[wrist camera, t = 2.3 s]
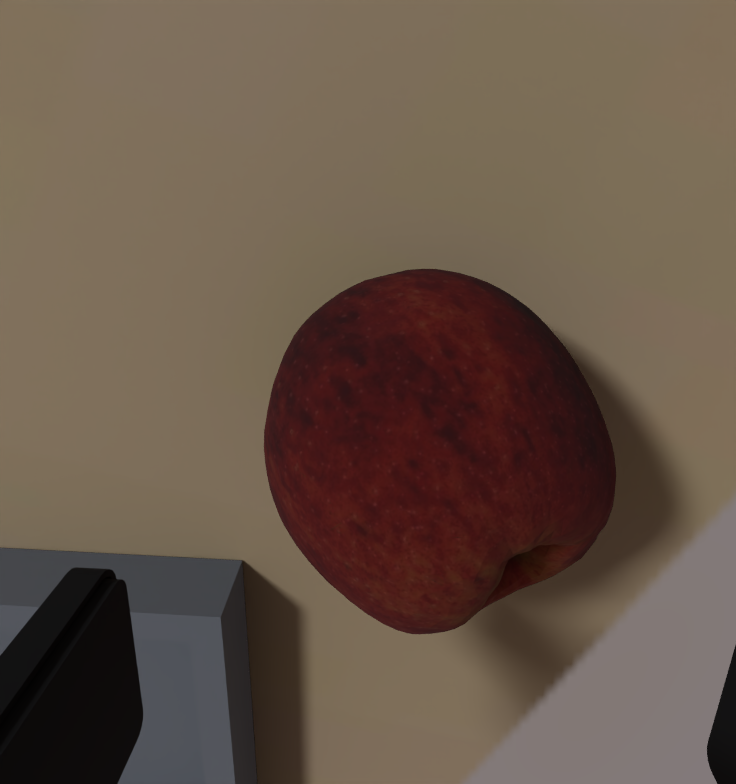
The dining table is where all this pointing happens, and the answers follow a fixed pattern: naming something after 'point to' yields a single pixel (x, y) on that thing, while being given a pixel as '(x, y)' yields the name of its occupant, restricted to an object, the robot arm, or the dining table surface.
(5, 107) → the dining table surface
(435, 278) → the apple
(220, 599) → the tray
